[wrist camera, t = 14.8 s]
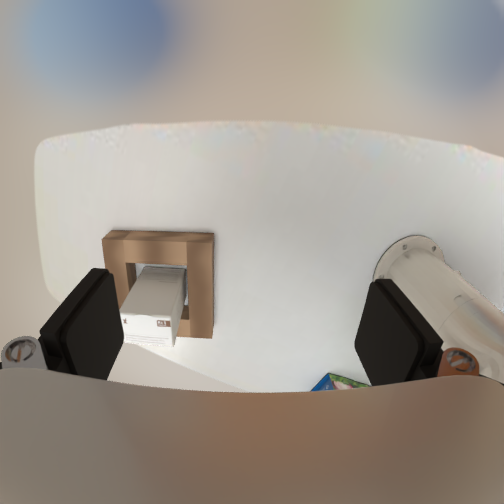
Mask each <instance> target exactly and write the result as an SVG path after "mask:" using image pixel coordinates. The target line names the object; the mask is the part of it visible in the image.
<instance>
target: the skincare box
mask: <svg viewBox="0 0 504 504" xmlns="http://www.w3.org/2000/svg"><path fill="white" fill-rule="evenodd" d="M185 299H186V270H185V269H173V268H154V267H144V269H143V270H142V272H141V274H140V275H139V277H138V278H137V280H136V282H135V284H134V285H133V287H132V289H131V290H130V292H129V294H128V295H127V297H126V299H125V301H124V302H123V304H122V306H121V308H120V309H119V311H120V316H121V321H122V326H123V331H124V343H133V344H144V345H155V346H168V347H174V344H175V340H176V336H177V331H178V327H179V323H180V319H181V315H182V311H183V307H184V303H185Z"/></svg>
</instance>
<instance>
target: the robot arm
mask: <svg viewBox="0 0 504 504" xmlns="http://www.w3.org/2000/svg"><path fill="white" fill-rule="evenodd" d="M40 334H41V336H40V337H39V339H38V340H37V339H36V338H34V337H30V336H22V337H18V338H15V339H13V340H11V341H10V342H8V343H7V344H6V345H5V346H4V348H3V350H2V353H1V360H2V362H0V504H504V314H503V313H502V312H501V311H500V310H499V309H497V308H496V307H495V306H494V305H493V304H492V303H491V302H490V301H489V300H487V299H486V298H485V297H484V296H483V295H482V294H481V293H480V292H478V291H477V290H476V289H475V288H474V287H473V286H472V285H470V284H469V283H468V282H467V281H466V280H464V279H463V278H462V277H461V273H460V271H454V270H452V269H451V268H450V267H449V266H447V265H446V264H445V263H444V257H443V254H442V251H441V249H440V248H439V246H438V245H437V244H436V243H435V242H433V241H432V240H430V239H429V238H426V237H423V236H410V237H407V238H404V239H402V240H400V241H398V242H397V243H395V244H394V245H393V246H392V247H390V248H389V249H388V250H387V251H386V253H385V254H384V255H383V257H382V258H381V260H380V261H379V263H378V265H377V267H376V270H375V274H374V280H373V282H372V283H371V284H370V287H369V291H368V295H367V299H366V302H365V306H364V310H363V314H362V317H361V321H360V325H359V328H358V332H357V335H356V338H355V350H356V352H357V354H358V356H359V358H360V361H361V363H362V365H363V367H364V369H365V372H366V374H367V376H368V378H369V380H370V383H371V385H372V386H371V387H362V388H352V389H340V390H327V391H311V392H283V393H239V392H211V391H193V390H181V389H170V388H160V387H150V386H142V385H134V384H127V383H120V382H113V381H107V378H108V376H109V373H110V371H111V369H112V367H113V364H114V362H115V360H116V358H117V355H118V353H119V351H120V349H121V347H122V344H123V342H124V331H123V326H122V321H121V316H120V311H119V305H118V299H117V293H116V287H115V281H114V275H113V274H112V273H110V272H109V270H108V269H100V268H93V269H91V270H90V272H89V273H88V274H87V275H86V276H85V277H84V278H83V279H82V280H81V282H80V283H79V284H78V285H77V286H76V287H75V288H74V290H73V291H72V292H71V293H70V294H69V295H68V297H67V298H66V299H65V300H64V301H63V302H62V304H61V305H60V306H59V307H58V308H57V310H56V311H55V312H54V313H53V315H52V316H51V317H50V318H49V320H48V321H47V322H46V323H45V325H44V326H43V327H42V328H41V329H40Z"/></svg>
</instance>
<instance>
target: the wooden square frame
mask: <svg viewBox="0 0 504 504" xmlns="http://www.w3.org/2000/svg"><path fill="white" fill-rule="evenodd" d="M102 246H103V254H104V262H105V269H108V270H109V272H110V273H112V274H113V275H114V281H115V287H116V293H117V299H118V305H119V309H120V308H121V306H122V304H123V302H124V301H125V299H126V297H127V295H128V294H129V292H130V290H131V289H132V287H133V285H134V284H135V282H136V280H137V279H136V270H135V263H146V264H167V265H187V280H188V302H189V306H185V305H184V307H183V311H182V315H181V319H180V323H179V327H178V331H177V337H192V338H211V339H212V335H213V326H214V233H193V232H161V231H123V230H111V231H110V232H109V233H108V234H107V235H106V236H105V237H104V238H103V239H102Z"/></svg>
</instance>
